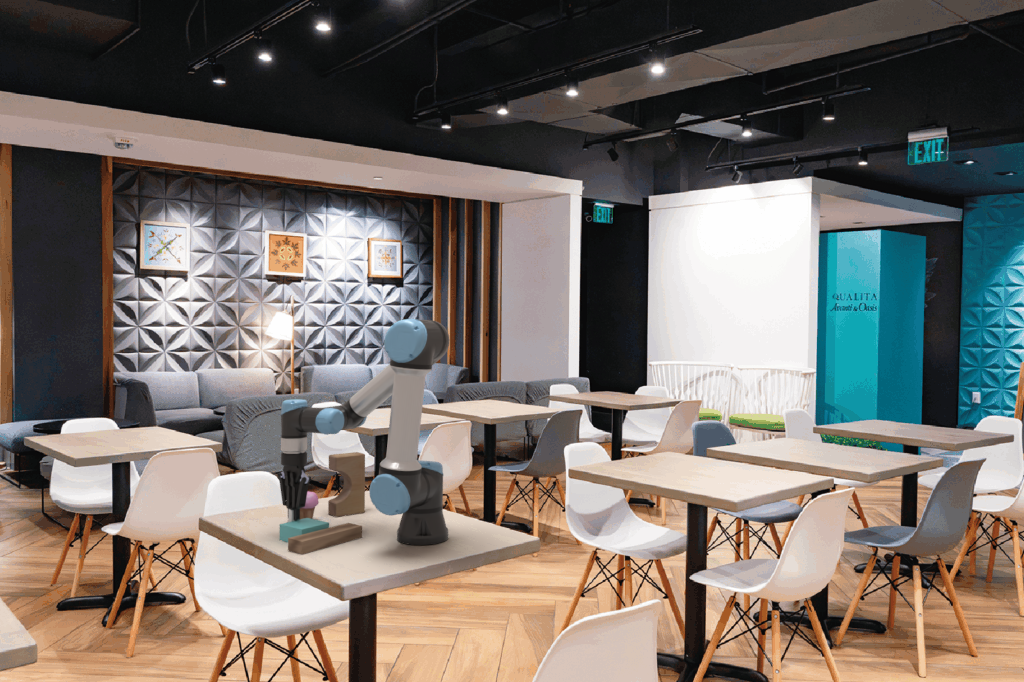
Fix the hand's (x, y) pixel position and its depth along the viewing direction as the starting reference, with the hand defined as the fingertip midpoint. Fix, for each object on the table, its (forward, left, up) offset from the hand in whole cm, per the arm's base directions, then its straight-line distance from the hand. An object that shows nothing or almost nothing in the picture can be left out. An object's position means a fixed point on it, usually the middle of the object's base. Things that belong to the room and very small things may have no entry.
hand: (293, 530), depth 226 cm
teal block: (-6, +1, -2) cm, 6 cm away
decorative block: (+9, -29, -2) cm, 31 cm away
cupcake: (+11, -13, -2) cm, 17 cm away
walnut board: (-15, 0, -2) cm, 15 cm away
